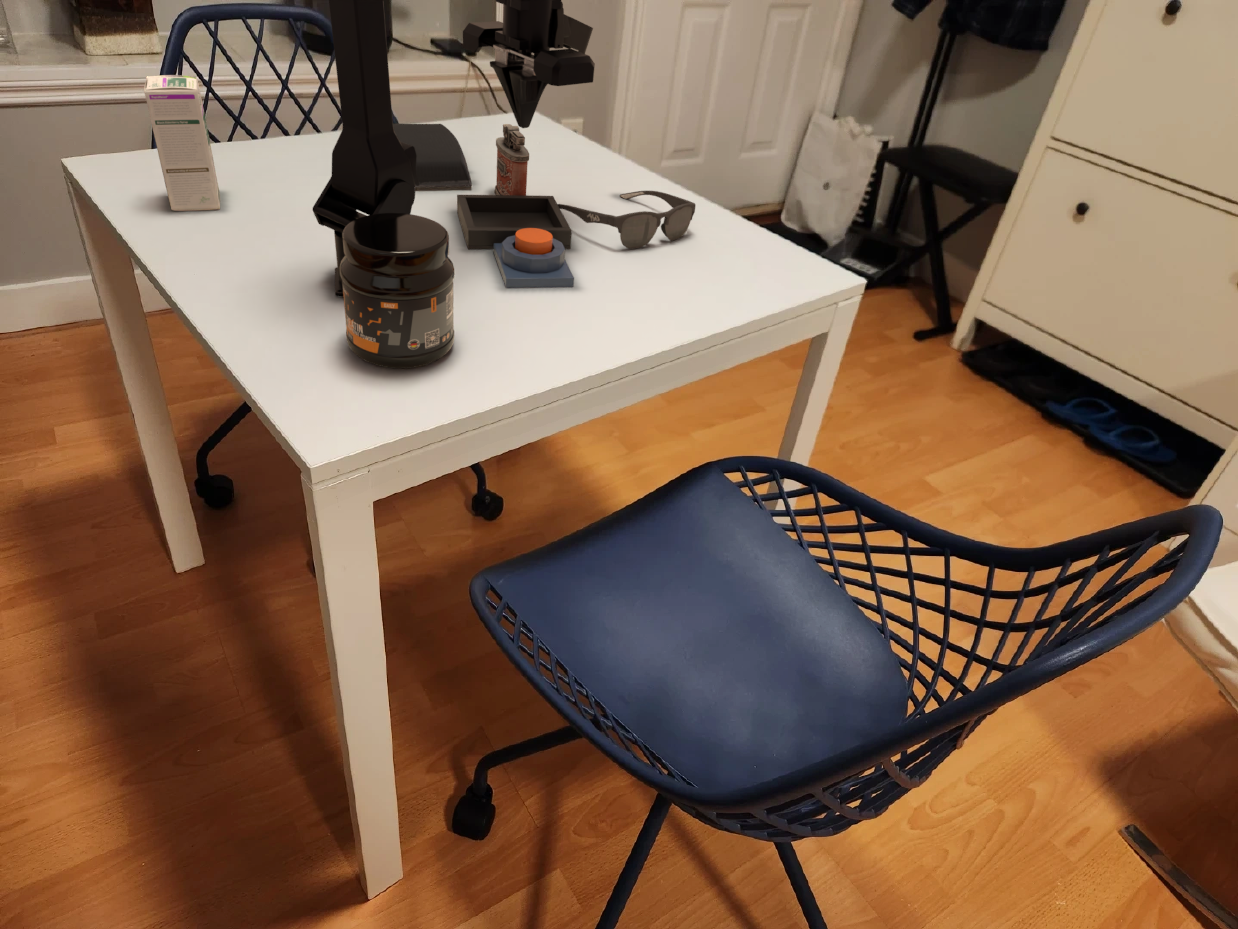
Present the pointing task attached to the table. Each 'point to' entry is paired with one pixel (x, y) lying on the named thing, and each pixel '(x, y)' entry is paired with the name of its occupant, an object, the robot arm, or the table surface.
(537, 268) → the box
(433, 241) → the supplement container
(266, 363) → the table surface
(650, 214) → the sunglasses
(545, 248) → the test button
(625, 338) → the table surface
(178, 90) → the syrup box
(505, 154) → the lighter
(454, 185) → the hard drive
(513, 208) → the holder
